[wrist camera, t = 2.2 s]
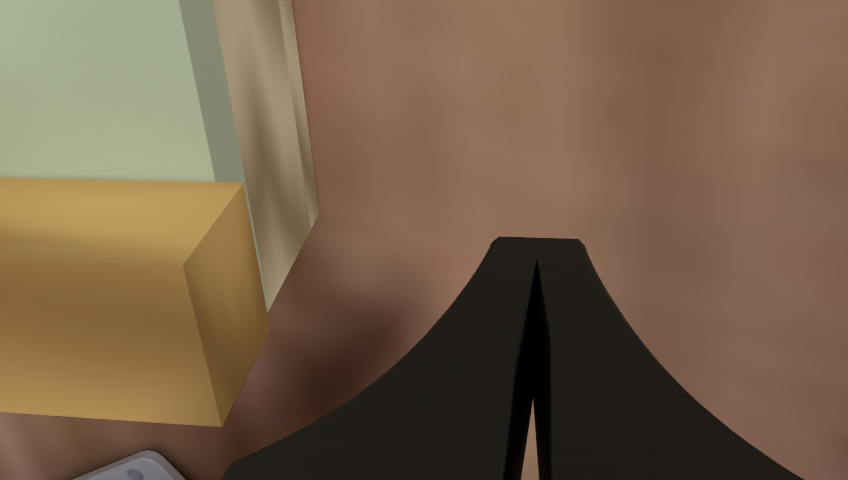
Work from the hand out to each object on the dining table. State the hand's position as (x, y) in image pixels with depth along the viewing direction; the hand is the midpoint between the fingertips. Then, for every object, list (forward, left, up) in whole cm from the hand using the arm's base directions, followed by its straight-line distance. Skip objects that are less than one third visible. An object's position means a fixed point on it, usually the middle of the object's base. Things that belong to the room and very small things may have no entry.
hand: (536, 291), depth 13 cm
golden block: (-9, +5, -1) cm, 10 cm away
